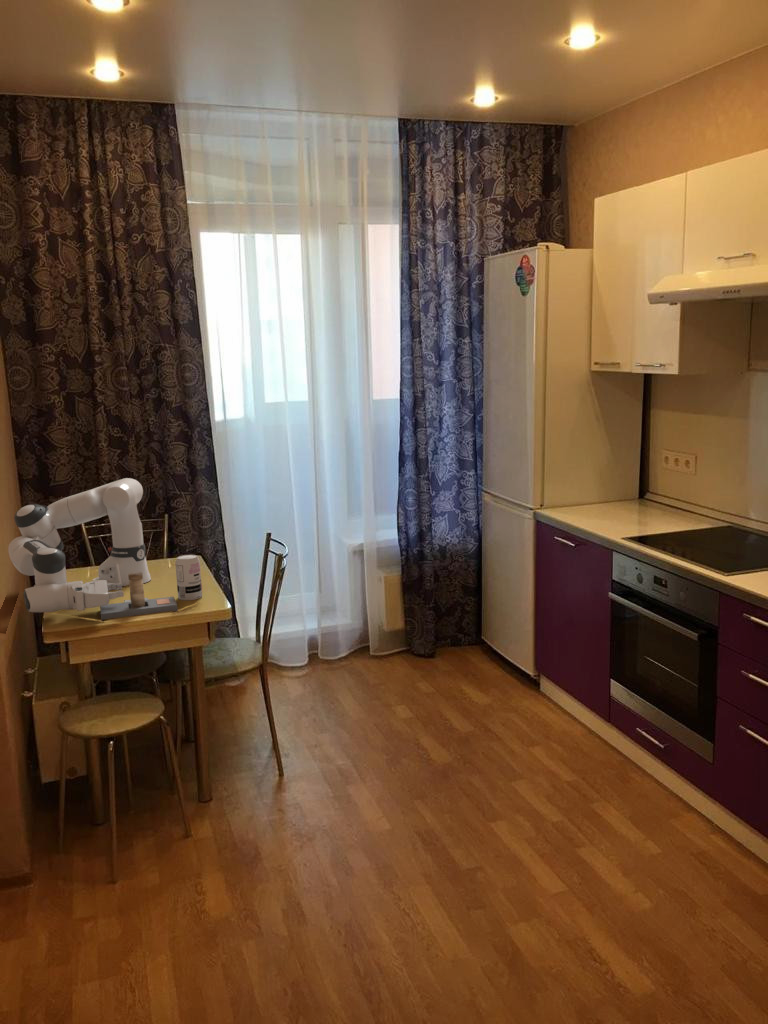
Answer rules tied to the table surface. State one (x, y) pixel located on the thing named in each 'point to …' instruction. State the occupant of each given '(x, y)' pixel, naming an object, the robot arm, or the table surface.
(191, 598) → the supplement can
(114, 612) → the socket board
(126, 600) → the pad
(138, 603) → the maple peg
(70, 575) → the table surface
